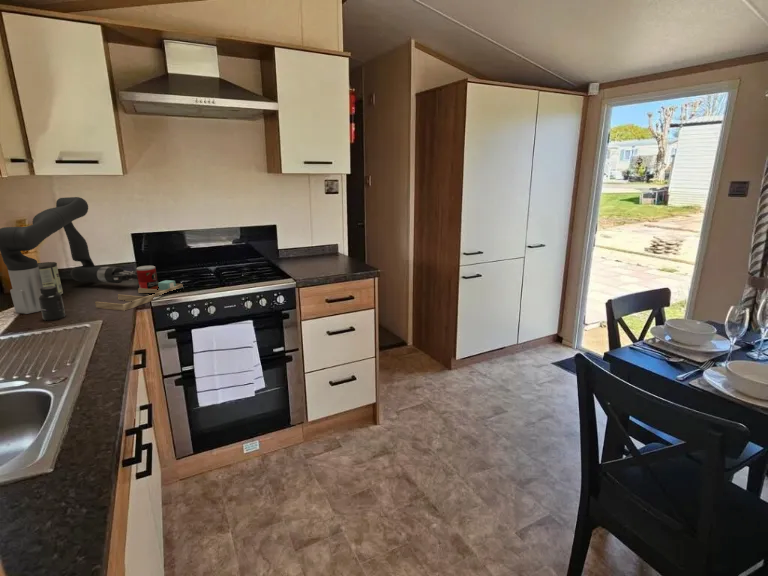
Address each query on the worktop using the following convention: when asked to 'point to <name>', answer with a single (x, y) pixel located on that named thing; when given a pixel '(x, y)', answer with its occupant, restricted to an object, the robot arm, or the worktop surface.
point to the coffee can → (50, 275)
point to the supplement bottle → (51, 304)
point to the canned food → (147, 277)
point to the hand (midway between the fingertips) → (140, 276)
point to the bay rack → (135, 299)
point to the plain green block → (166, 284)
